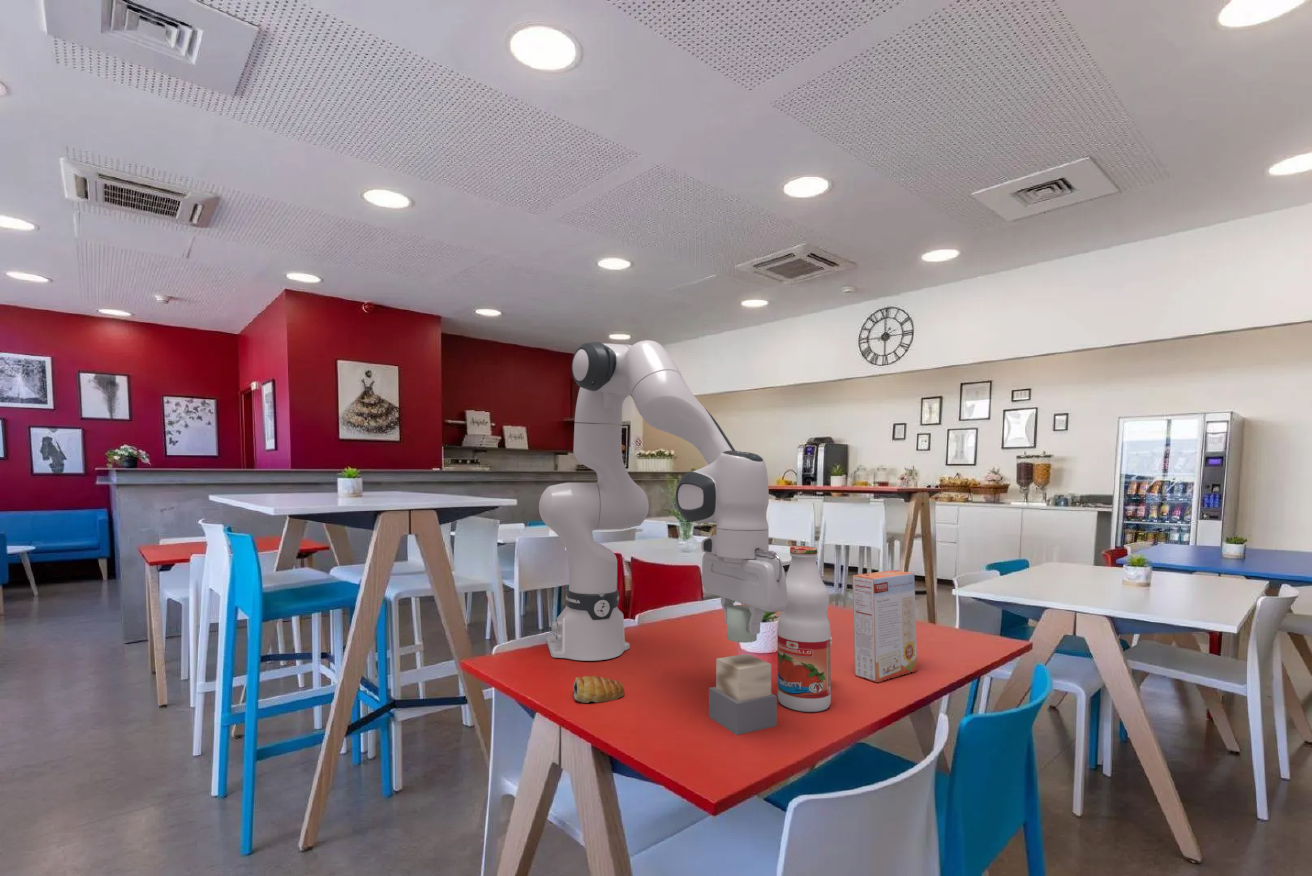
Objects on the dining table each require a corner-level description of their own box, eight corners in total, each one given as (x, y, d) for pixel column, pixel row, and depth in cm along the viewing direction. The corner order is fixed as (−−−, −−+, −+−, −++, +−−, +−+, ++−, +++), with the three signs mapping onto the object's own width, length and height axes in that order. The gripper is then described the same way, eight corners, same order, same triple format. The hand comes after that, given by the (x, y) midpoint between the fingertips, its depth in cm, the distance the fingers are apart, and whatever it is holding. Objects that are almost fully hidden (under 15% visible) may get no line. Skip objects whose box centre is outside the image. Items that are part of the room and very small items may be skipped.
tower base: (708, 718, 101) (709, 687, 102) (747, 710, 105) (747, 681, 105) (736, 736, 94) (736, 703, 95) (776, 727, 98) (776, 695, 98)
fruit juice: (840, 703, 108) (839, 547, 110) (813, 717, 102) (812, 551, 104) (795, 690, 115) (795, 543, 117) (767, 702, 108) (767, 546, 110)
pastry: (619, 689, 115) (620, 669, 115) (627, 702, 108) (628, 680, 108) (570, 693, 112) (571, 672, 112) (576, 707, 106) (576, 684, 106)
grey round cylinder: (721, 636, 102) (721, 606, 102) (745, 633, 104) (745, 604, 104) (737, 643, 97) (737, 612, 98) (762, 640, 100) (762, 610, 100)
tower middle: (716, 688, 101) (716, 658, 102) (746, 682, 105) (747, 653, 105) (739, 701, 96) (739, 669, 96) (771, 695, 99) (771, 664, 99)
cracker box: (893, 664, 132) (892, 568, 133) (918, 672, 127) (916, 572, 128) (851, 675, 124) (851, 573, 126) (876, 684, 119) (875, 577, 121)
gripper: (797, 552, 94) (797, 641, 93) (725, 539, 112) (724, 614, 111) (764, 553, 91) (764, 646, 90) (696, 540, 109) (695, 617, 108)
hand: (741, 628), depth 101 cm, fingers closed on grey round cylinder, 5 cm apart
